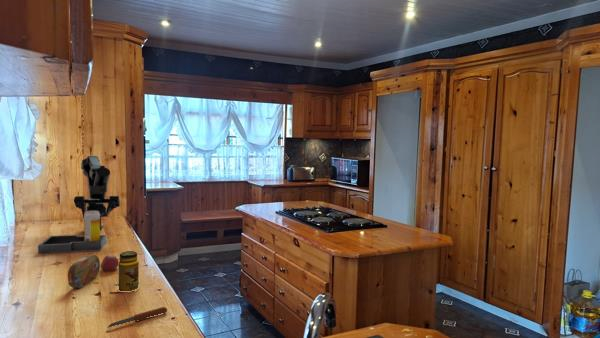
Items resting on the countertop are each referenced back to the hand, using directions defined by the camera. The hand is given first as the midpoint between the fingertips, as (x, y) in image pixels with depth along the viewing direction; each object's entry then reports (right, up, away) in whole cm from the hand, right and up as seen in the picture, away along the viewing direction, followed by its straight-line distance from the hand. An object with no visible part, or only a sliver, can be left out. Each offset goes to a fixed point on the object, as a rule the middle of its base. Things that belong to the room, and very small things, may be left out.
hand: (94, 216), depth 175 cm
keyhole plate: (-5, -13, -7) cm, 15 cm away
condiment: (+36, -18, -48) cm, 63 cm away
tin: (+20, -17, -45) cm, 52 cm away
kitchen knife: (+49, -20, -69) cm, 87 cm away
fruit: (+23, -16, -31) cm, 42 cm away
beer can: (+1, -12, -5) cm, 13 cm away
